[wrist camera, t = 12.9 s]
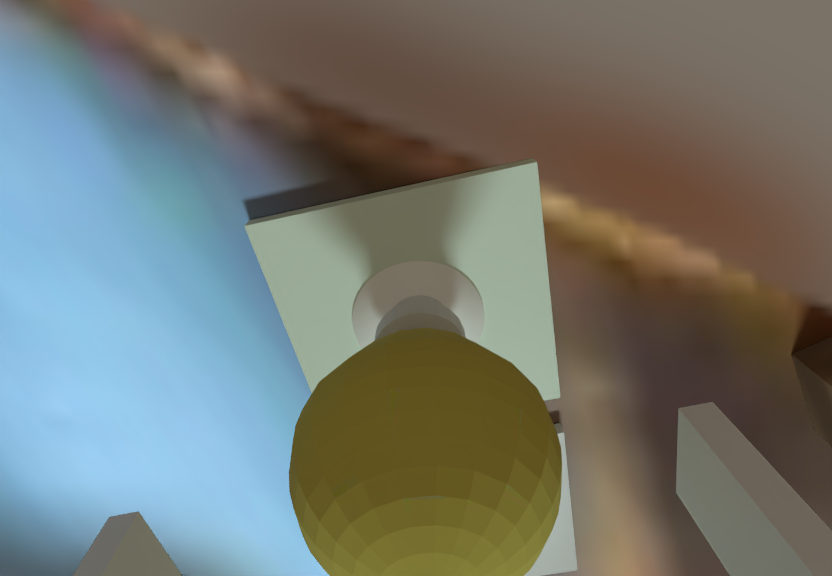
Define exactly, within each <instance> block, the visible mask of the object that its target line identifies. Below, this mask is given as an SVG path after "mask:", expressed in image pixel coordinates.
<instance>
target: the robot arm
mask: <svg viewBox="0 0 832 576" xmlns="http://www.w3.org/2000/svg"><path fill="white" fill-rule="evenodd" d="M676 493H677V494H678V496H679V498H680V499H681V501H682V502H683V504H684V505H685V507H686V508H687V510H688V511H689V513H690V515H691V516H692V518H693V519H694V521H695V522H696V524H697V525H698V527H699V528H700V530H701V532H702V533H703V535H704V536H705V538H706V539H707V541H708V542H709V544H710V545H711V547H712V549H713V550H714V552H715V553H716V555H717V556H718V558H719V559H720V561H721V562H722V564H723V566H724V567H725V569H726V570H727V572H728V573H729V575H730V576H832V531H831V530H830V529H829V528H828V526H827V525H826V524H825V523H824V522H823V521H822V520H821V519H820V518H819V517H818V516H817V515H816V513H815V512H814V511H813V510H812V509H811V508H810V507H809V506H808V505H807V504H806V503H805V502H804V500H803V499H802V498H801V497H800V496H799V495H798V494H797V493H796V492H795V491H794V490H793V489H792V487H791V486H790V485H789V484H788V483H787V482H786V481H785V480H784V479H783V478H782V477H781V476H780V475H779V473H778V472H777V471H776V470H775V469H774V468H773V467H772V466H771V465H770V464H769V463H768V462H767V460H766V459H765V458H764V457H763V456H762V455H761V454H760V453H759V452H758V451H757V450H756V449H755V447H754V446H753V445H752V444H751V443H750V442H749V441H748V440H747V439H746V438H745V437H744V436H743V434H742V433H741V432H740V431H739V430H738V429H737V428H736V427H735V426H734V425H733V424H732V423H731V422H730V420H729V419H728V418H727V417H726V416H725V415H724V414H723V413H722V412H721V411H720V410H719V409H718V407H717V406H716V405H715V404H714V403H713V402H710V403H705V404H699V405H694V406H689V407H684V408H679V411H678V444H677V477H676ZM73 576H182V574H181V573H180V571H179V570H178V569H177V567H176V566H175V564H174V563H173V561H172V560H171V558H170V557H169V555H168V554H167V552H166V551H165V549H164V548H163V547H162V545H161V544H160V542H159V541H158V539H157V538H156V536H155V535H154V533H153V532H152V530H151V529H150V527H149V526H148V525H147V523H146V522H145V520H144V519H143V517H142V516H141V514H140V513H139V511H138V512H133V513H128V514H123V515H117V516H112V517H109V518H108V520H107V521H106V523H105V525H104V526H103V528H102V529H101V531H100V533H99V534H98V536H97V537H96V539H95V541H94V542H93V544H92V545H91V547H90V548H89V550H88V552H87V553H86V555H85V556H84V558H83V560H82V561H81V563H80V564H79V566H78V568H77V569H76V571H75V572H74V574H73Z"/></svg>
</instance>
